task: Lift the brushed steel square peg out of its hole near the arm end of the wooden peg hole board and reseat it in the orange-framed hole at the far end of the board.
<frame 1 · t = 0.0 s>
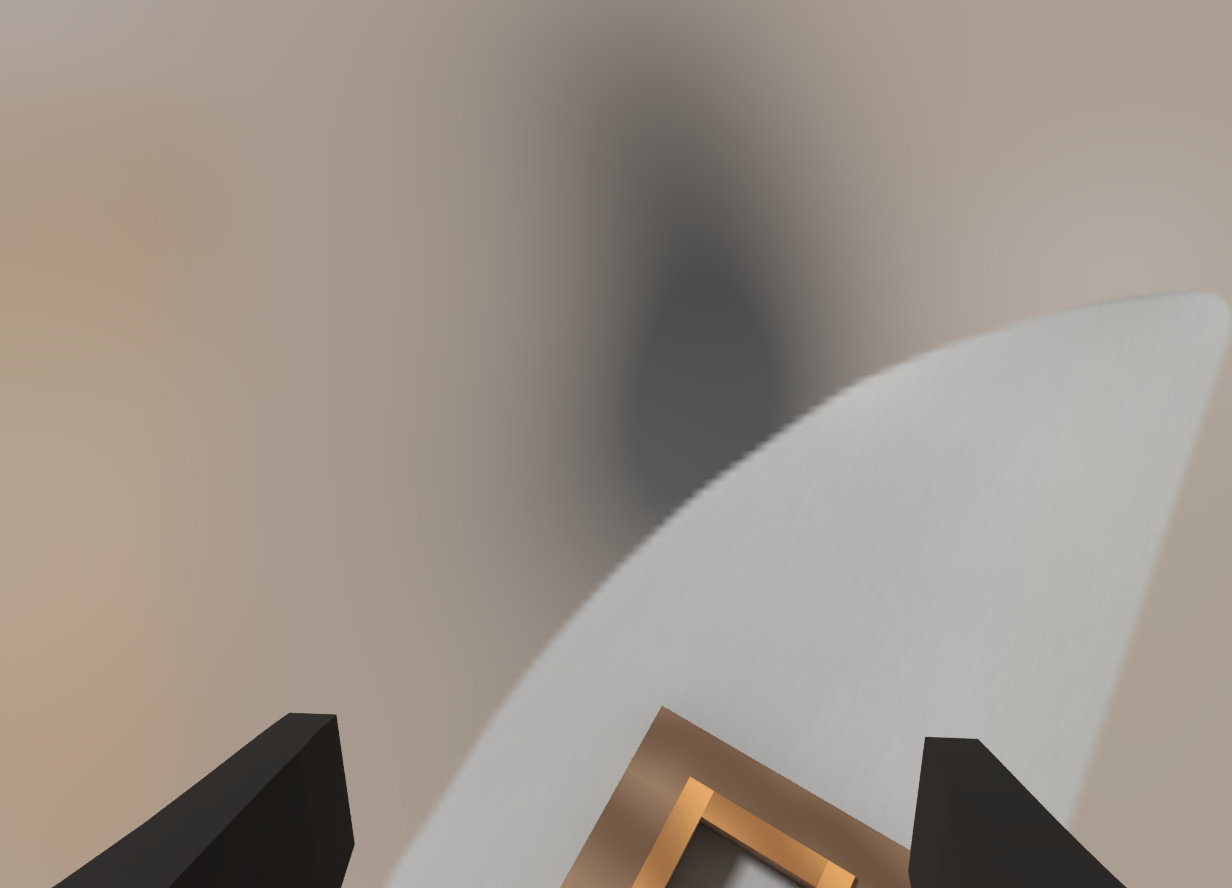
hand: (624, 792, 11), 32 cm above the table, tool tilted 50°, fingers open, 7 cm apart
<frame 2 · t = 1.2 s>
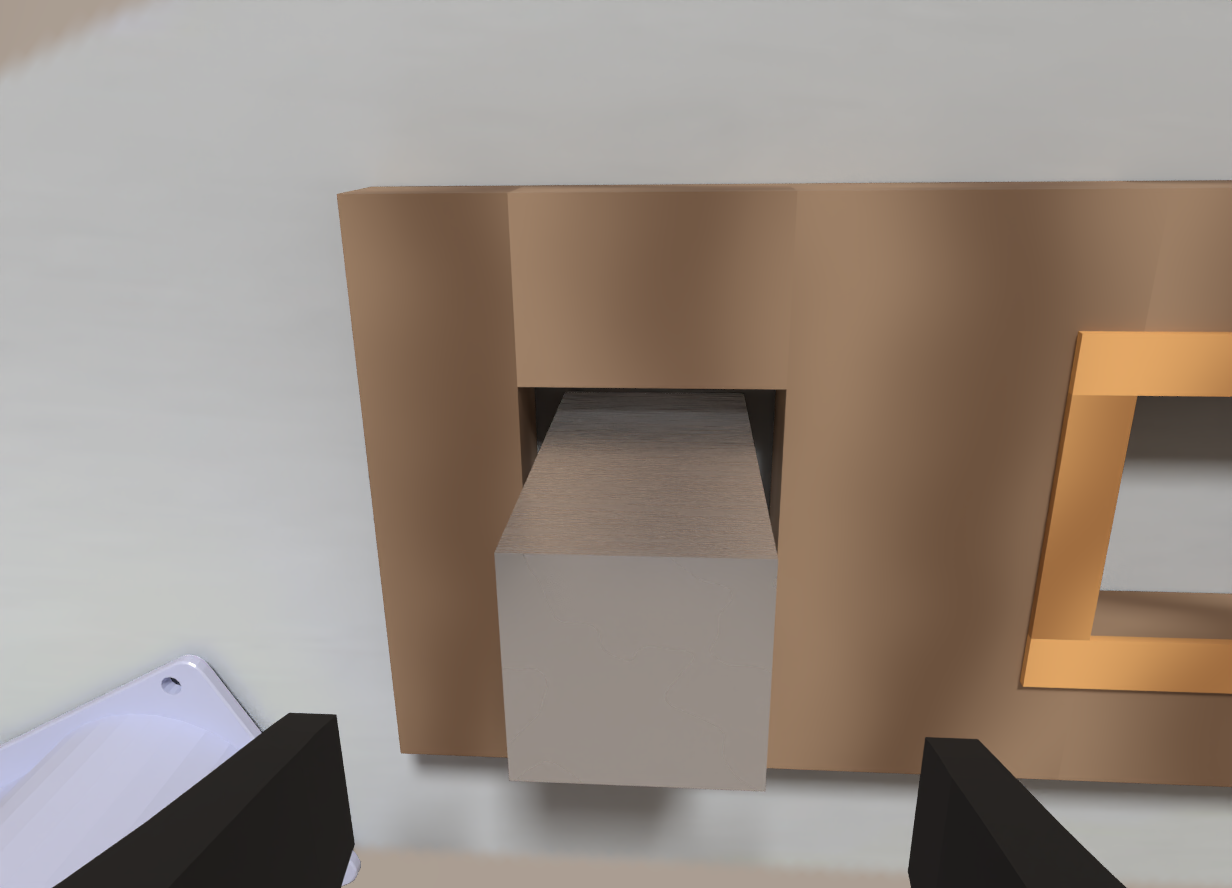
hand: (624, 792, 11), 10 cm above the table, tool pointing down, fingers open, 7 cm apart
steel peg: (653, 475, 21), resting in wooden peg hole board
wooden peg hole board: (918, 480, 20), on the table
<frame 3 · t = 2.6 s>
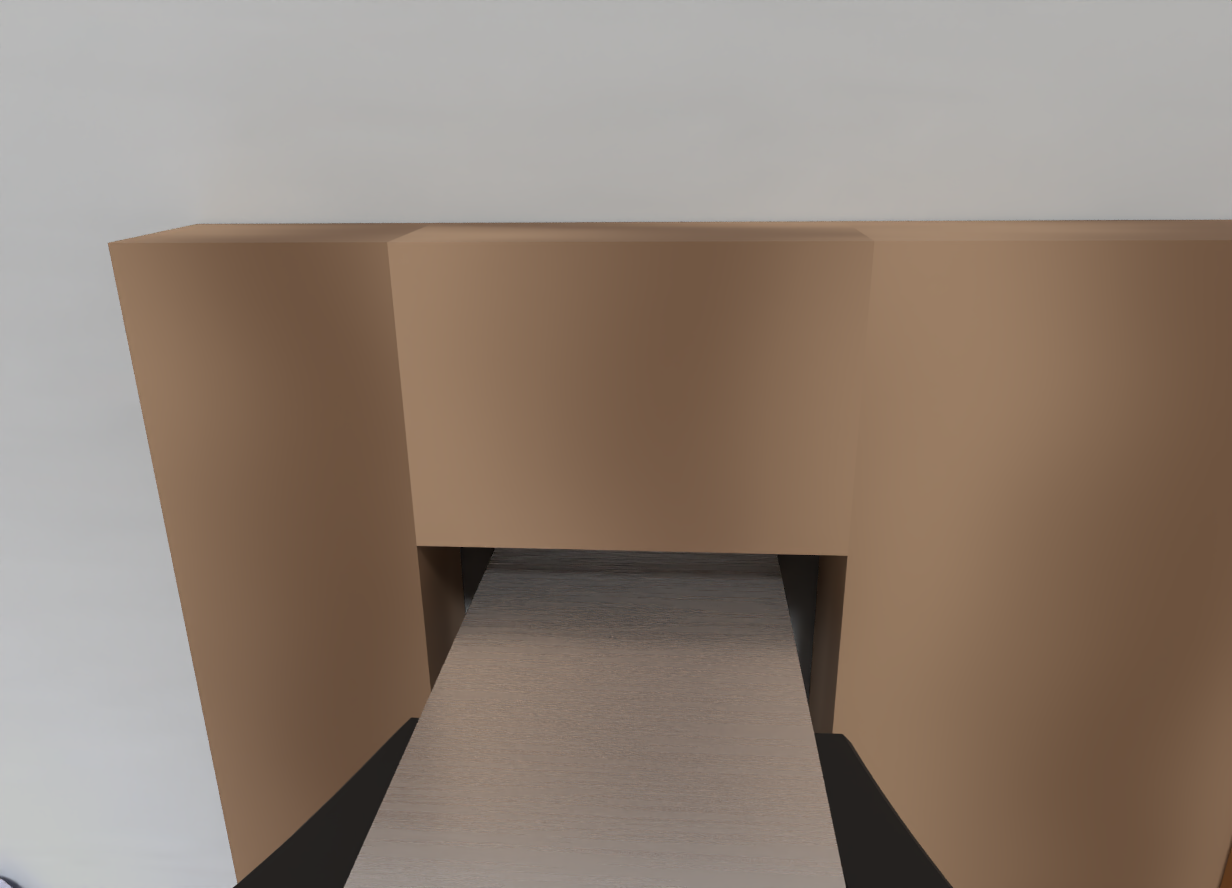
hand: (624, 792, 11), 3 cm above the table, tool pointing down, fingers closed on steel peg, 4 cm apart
steel peg: (637, 646, 14), resting in wooden peg hole board, touching gripper
wooden peg hole board: (1033, 660, 14), on the table
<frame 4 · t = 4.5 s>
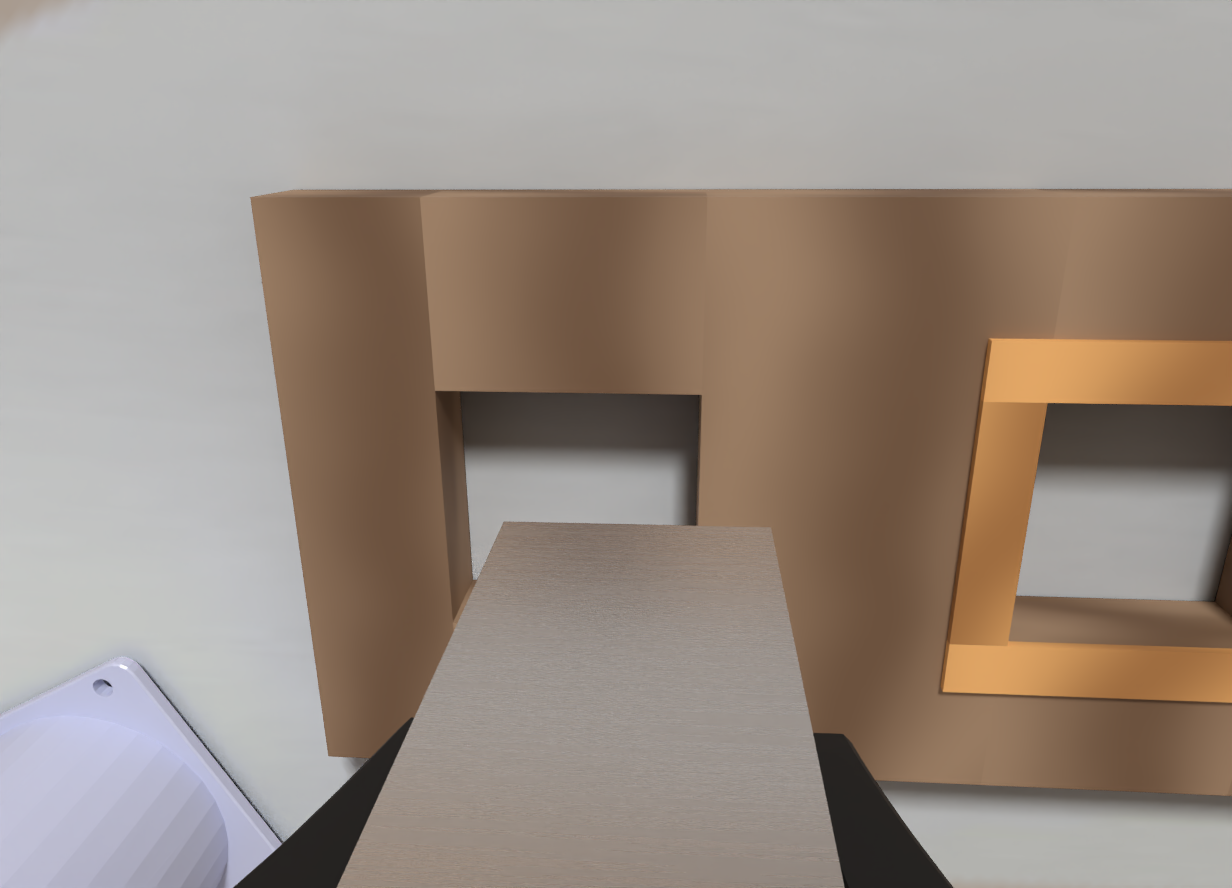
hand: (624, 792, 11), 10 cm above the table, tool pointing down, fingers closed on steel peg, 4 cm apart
steel peg: (636, 640, 14), point 7 cm above the table, touching gripper
wooden peg hole board: (842, 485, 20), on the table
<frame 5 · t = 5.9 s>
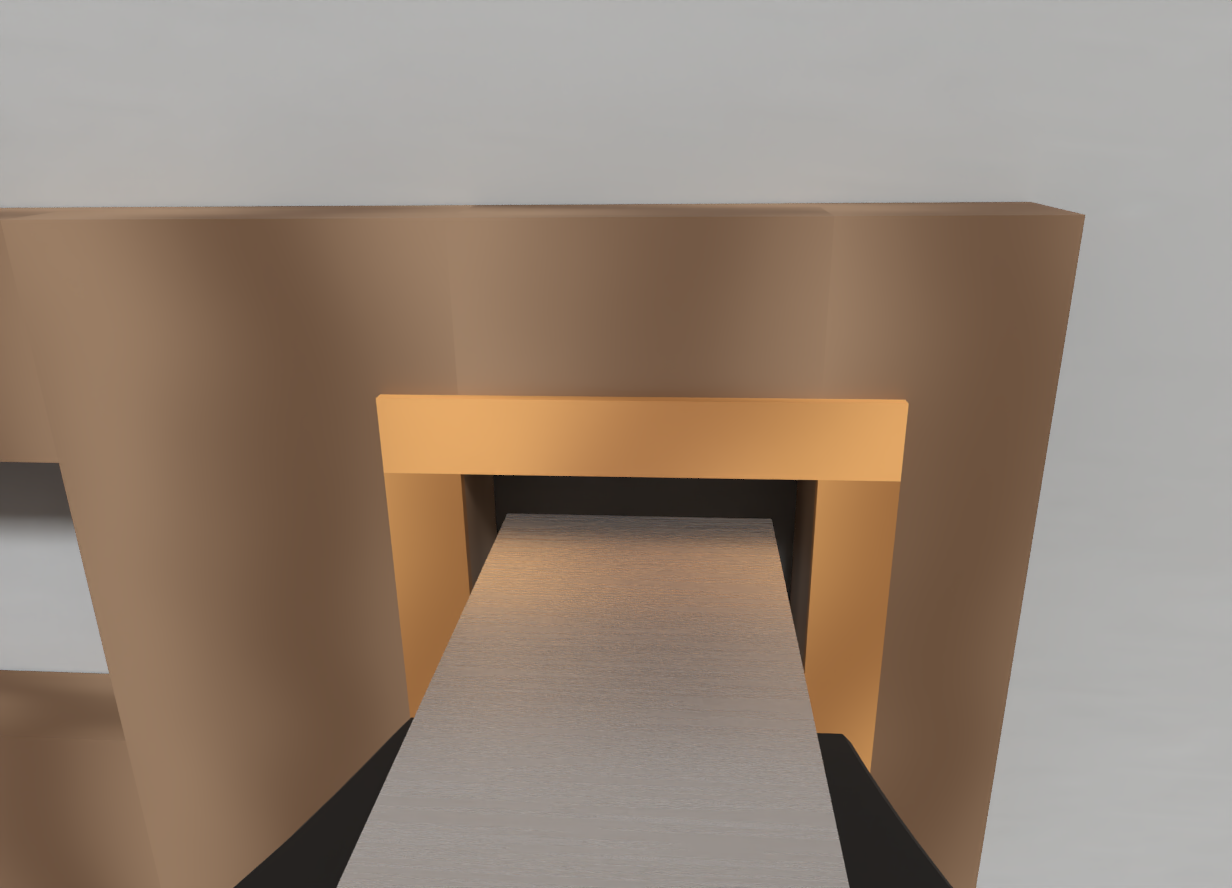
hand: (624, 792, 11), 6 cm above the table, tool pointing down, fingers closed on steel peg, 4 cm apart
steel peg: (638, 631, 14), point 2 cm above the table, touching gripper
wooden peg hole board: (326, 560, 17), on the table
when the fingers open (4 cm above the table, at t = 6.6 s): steel peg stays where it is, resting in wooden peg hole board.
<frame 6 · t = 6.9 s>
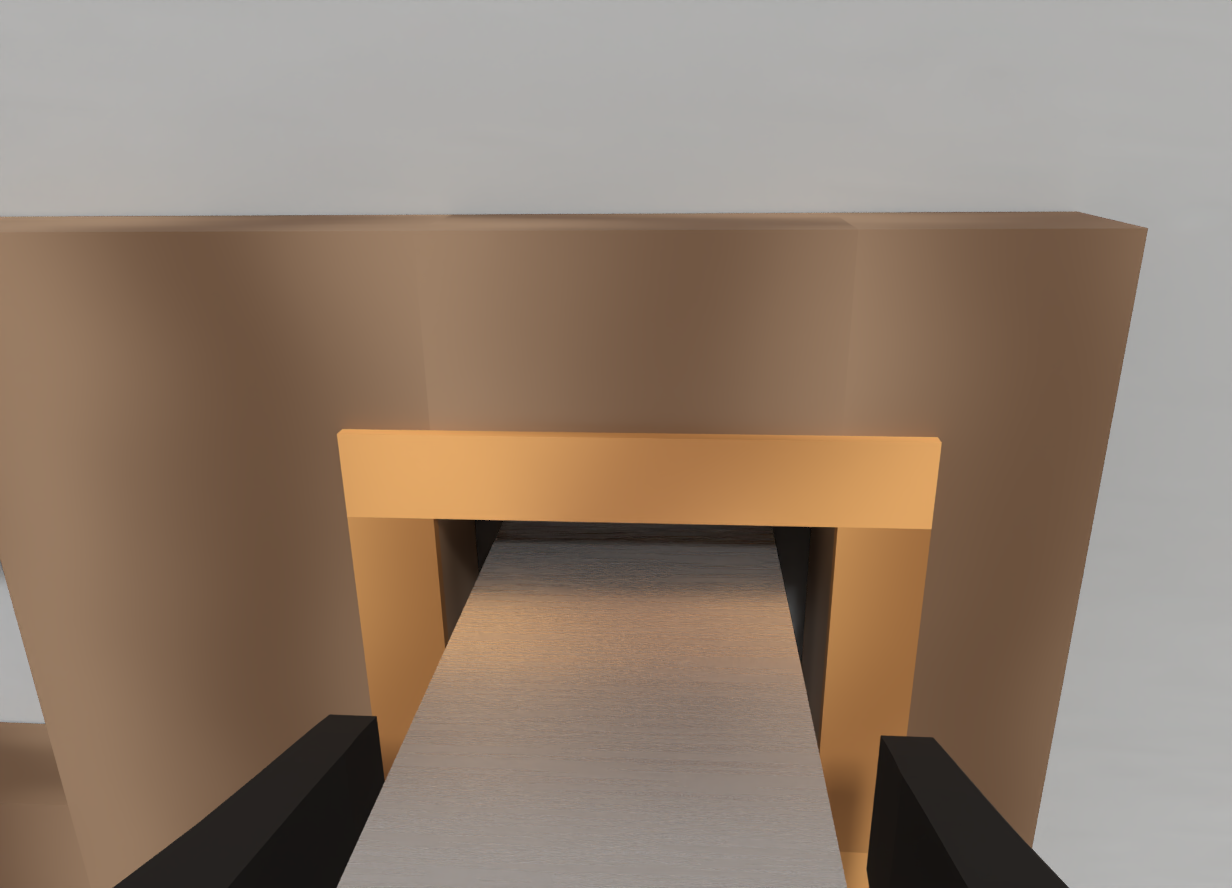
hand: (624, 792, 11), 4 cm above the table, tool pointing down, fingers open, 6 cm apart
steel peg: (640, 607, 15), resting in wooden peg hole board
wooden peg hole board: (291, 604, 15), on the table
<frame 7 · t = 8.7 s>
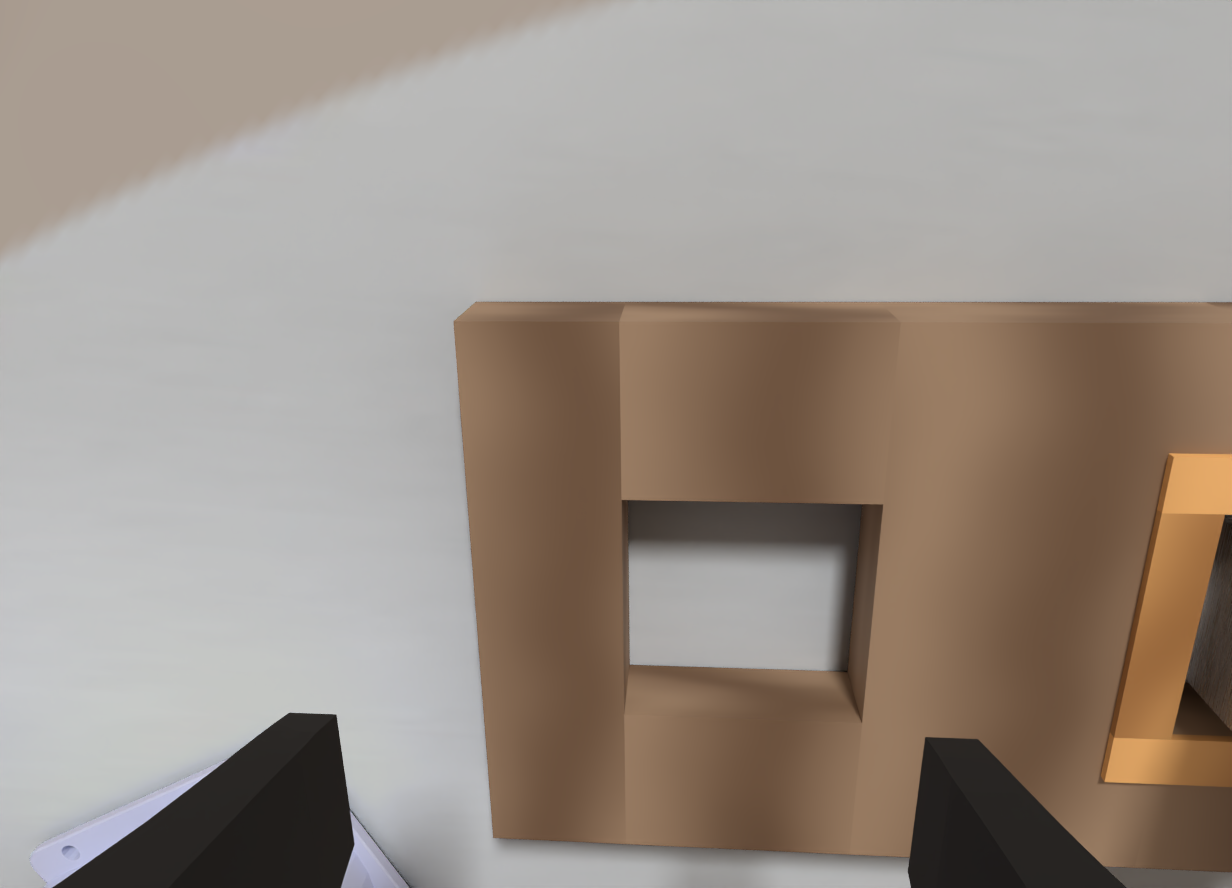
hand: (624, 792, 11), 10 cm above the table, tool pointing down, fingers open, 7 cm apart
wooden peg hole board: (999, 578, 21), on the table
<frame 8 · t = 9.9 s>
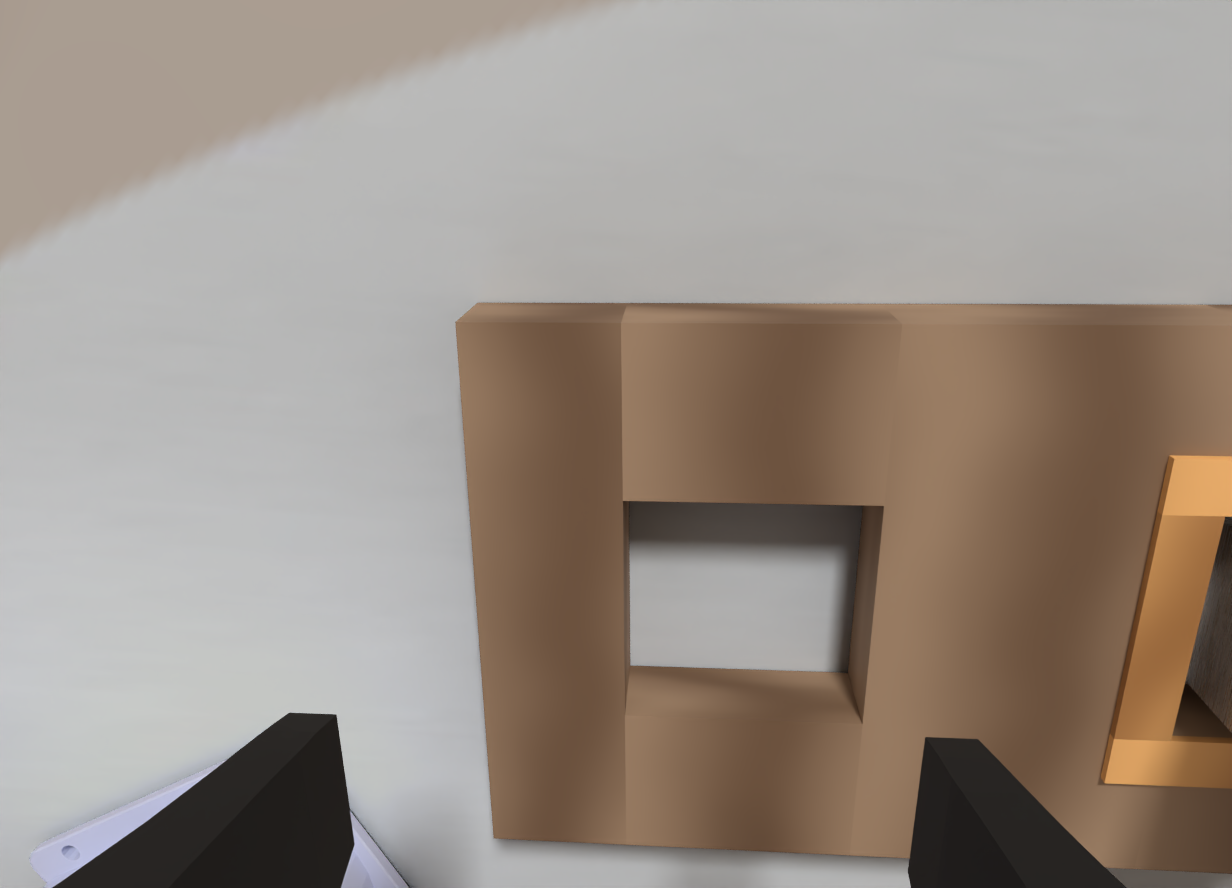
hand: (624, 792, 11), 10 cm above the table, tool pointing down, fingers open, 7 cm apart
wooden peg hole board: (999, 579, 21), on the table
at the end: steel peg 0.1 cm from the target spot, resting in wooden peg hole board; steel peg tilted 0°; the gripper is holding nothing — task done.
